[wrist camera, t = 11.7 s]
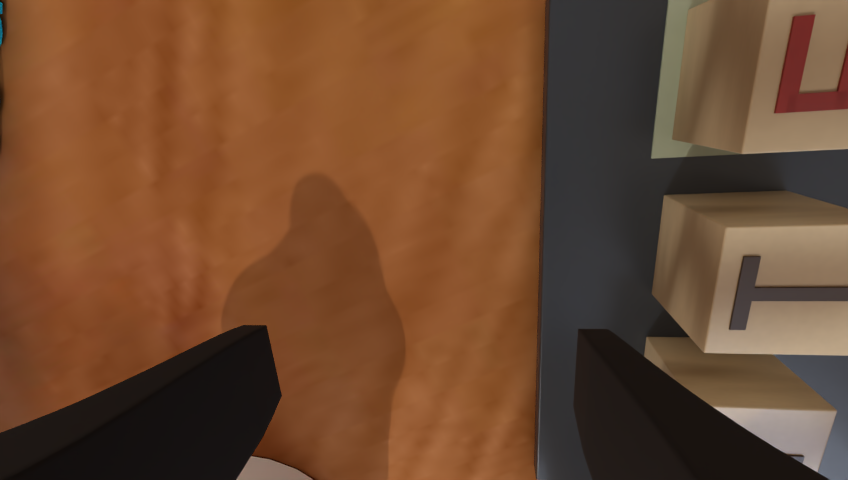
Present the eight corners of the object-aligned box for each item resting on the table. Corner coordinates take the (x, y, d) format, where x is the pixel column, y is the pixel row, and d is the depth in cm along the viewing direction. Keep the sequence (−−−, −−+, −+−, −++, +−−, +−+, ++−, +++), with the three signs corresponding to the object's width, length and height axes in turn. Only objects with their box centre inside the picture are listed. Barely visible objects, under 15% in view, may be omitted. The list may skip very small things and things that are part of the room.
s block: (801, 133, 14) (929, 145, 10) (671, 139, 15) (742, 154, 11) (832, -5, 13) (994, -54, 9) (687, 9, 13) (776, -30, 9)
